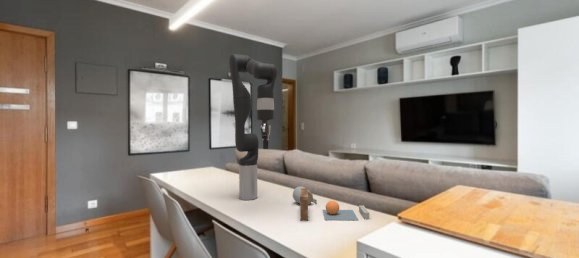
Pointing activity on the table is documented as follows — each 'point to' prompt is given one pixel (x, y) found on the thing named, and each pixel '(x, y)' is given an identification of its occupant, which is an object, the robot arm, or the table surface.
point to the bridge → (303, 204)
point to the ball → (332, 207)
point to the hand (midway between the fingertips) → (265, 148)
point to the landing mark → (340, 215)
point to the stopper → (364, 212)
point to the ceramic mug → (297, 195)
